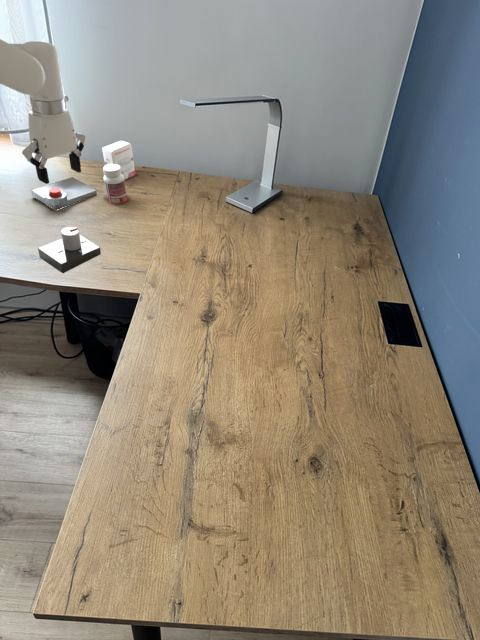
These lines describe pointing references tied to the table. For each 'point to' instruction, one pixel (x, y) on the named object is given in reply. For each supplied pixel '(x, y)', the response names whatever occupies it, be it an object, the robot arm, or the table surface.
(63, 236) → the hob knob
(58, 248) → the base plate
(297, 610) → the table surface
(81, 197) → the block
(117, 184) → the pill bottle
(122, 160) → the ink box
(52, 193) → the button
